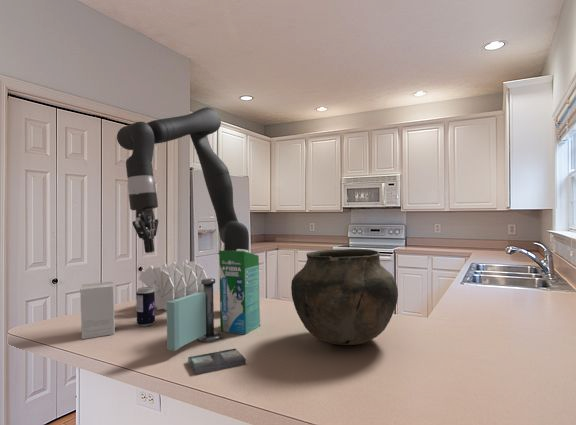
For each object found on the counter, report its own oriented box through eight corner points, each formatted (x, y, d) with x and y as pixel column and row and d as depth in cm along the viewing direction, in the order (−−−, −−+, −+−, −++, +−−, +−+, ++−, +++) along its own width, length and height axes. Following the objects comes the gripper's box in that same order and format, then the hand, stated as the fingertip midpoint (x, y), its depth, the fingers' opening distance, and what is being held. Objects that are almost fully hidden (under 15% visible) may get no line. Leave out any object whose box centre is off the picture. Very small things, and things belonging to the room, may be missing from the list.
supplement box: (114, 327, 119) (113, 281, 119) (114, 334, 111) (114, 285, 111) (82, 331, 115) (81, 283, 115) (80, 339, 107) (79, 288, 107)
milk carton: (260, 326, 117) (258, 248, 117) (245, 334, 109) (243, 250, 109) (236, 323, 121) (234, 247, 121) (220, 331, 113) (218, 250, 113)
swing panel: (200, 333, 105) (199, 291, 105) (207, 334, 104) (206, 291, 104) (167, 349, 92) (166, 301, 92) (174, 350, 91) (174, 302, 91)
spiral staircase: (205, 309, 155) (159, 322, 133) (178, 288, 163) (130, 297, 141) (220, 271, 153) (176, 277, 131) (192, 252, 161) (146, 255, 139)
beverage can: (151, 327, 118) (150, 289, 118) (133, 327, 118) (133, 290, 118) (157, 321, 124) (157, 286, 124) (141, 322, 124) (140, 286, 124)
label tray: (235, 353, 94) (235, 346, 94) (246, 364, 87) (245, 357, 87) (188, 362, 89) (188, 355, 89) (195, 374, 82) (195, 367, 82)
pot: (273, 357, 91) (271, 257, 91) (309, 321, 121) (308, 246, 121) (394, 372, 81) (392, 260, 81) (401, 329, 111) (400, 247, 111)
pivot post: (217, 332, 111) (216, 276, 111) (224, 339, 105) (223, 280, 105) (194, 336, 108) (193, 279, 108) (199, 343, 102) (198, 282, 102)
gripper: (139, 195, 112) (146, 251, 112) (118, 193, 99) (126, 256, 99) (163, 192, 112) (170, 248, 112) (145, 189, 99) (153, 253, 99)
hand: (149, 252), depth 105 cm, fingers closed
